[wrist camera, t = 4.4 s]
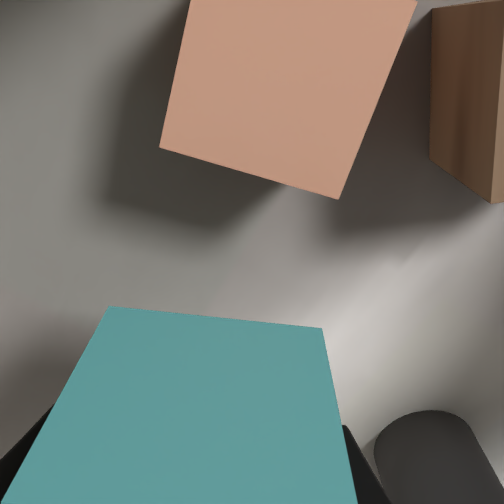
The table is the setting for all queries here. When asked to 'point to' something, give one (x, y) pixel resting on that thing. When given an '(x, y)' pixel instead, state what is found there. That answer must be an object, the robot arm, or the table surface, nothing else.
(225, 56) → the terracotta cube
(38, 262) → the table surface
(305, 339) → the teal cube
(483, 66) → the walnut cube
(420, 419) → the dark grey cylinder
